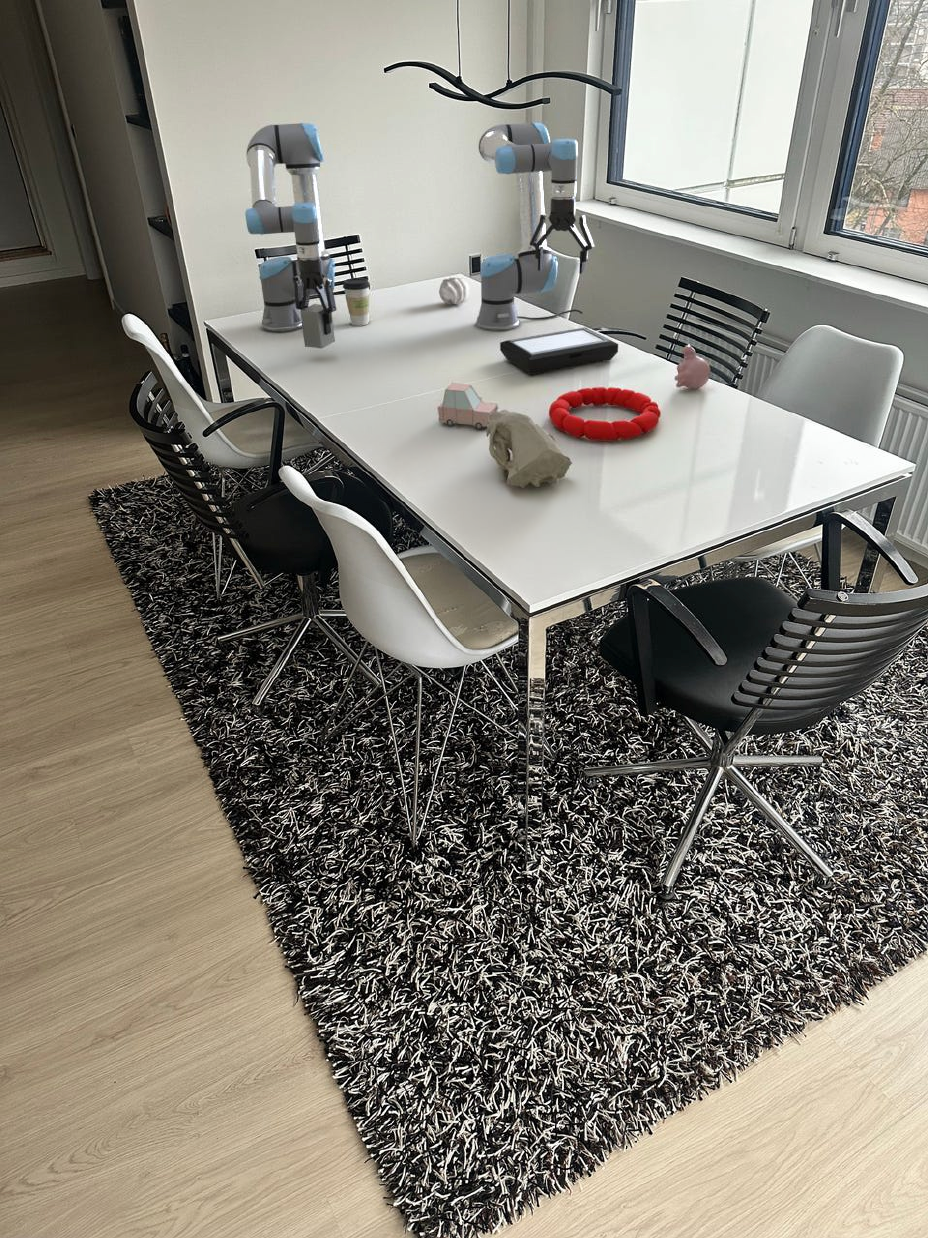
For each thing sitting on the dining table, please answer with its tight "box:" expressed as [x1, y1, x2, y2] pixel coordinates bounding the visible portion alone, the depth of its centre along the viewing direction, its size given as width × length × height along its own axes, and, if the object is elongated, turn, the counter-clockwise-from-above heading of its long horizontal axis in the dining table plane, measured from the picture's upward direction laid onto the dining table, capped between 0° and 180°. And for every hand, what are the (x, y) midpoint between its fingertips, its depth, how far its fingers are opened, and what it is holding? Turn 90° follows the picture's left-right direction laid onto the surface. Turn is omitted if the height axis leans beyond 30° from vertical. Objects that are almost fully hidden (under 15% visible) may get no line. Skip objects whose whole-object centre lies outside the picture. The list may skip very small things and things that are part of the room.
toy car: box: [437, 382, 499, 431], centre depth 243 cm, size 9×15×10 cm, turn 70°
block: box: [300, 303, 336, 349], centre depth 289 cm, size 6×8×12 cm
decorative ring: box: [548, 386, 661, 442], centre depth 242 cm, size 7×30×30 cm
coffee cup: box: [342, 277, 371, 327], centre depth 323 cm, size 10×10×15 cm
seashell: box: [438, 277, 470, 305], centre depth 341 cm, size 10×15×10 cm
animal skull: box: [485, 409, 573, 489], centre depth 216 cm, size 17×25×20 cm
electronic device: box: [499, 326, 619, 376], centre depth 285 cm, size 32×6×20 cm
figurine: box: [674, 344, 711, 390], centre depth 259 cm, size 9×11×12 cm
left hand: (318, 332), depth 290 cm, fingers closed on block, 6 cm apart
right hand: (560, 271), depth 280 cm, fingers open, 13 cm apart
